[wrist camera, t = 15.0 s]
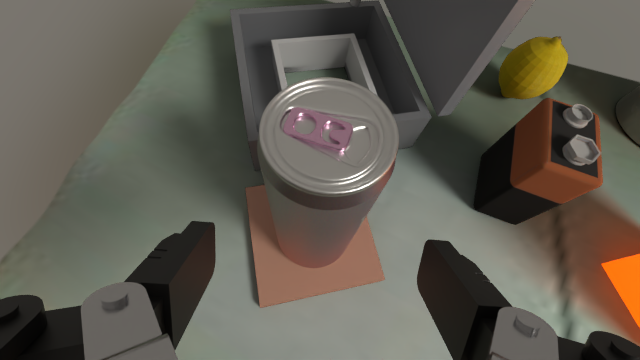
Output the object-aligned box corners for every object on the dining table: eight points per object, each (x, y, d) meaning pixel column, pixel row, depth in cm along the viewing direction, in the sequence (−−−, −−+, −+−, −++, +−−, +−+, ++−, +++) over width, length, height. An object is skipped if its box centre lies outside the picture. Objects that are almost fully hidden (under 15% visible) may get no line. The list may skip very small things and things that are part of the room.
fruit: (537, 114, 35) (601, 59, 27) (491, 113, 34) (544, 56, 27) (521, 78, 37) (576, 18, 30) (478, 76, 37) (523, 15, 29)
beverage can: (292, 191, 27) (286, 57, 14) (356, 213, 26) (416, 96, 13) (266, 255, 24) (226, 168, 11) (336, 280, 24) (385, 221, 10)
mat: (351, 174, 29) (353, 170, 28) (382, 280, 25) (384, 279, 24) (246, 191, 28) (245, 187, 27) (261, 307, 23) (259, 307, 23)
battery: (470, 210, 29) (552, 157, 20) (479, 154, 32) (554, 85, 23) (516, 227, 28) (620, 181, 19) (521, 168, 31) (613, 105, 22)
